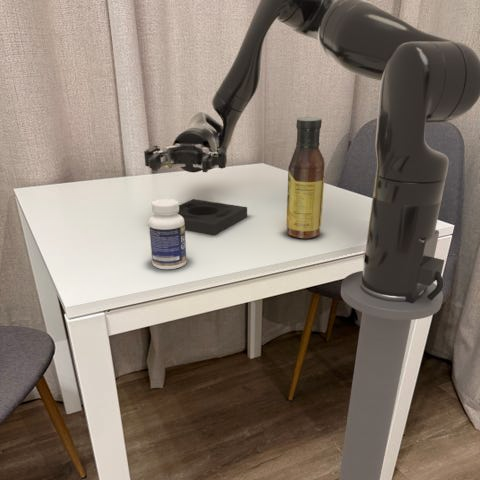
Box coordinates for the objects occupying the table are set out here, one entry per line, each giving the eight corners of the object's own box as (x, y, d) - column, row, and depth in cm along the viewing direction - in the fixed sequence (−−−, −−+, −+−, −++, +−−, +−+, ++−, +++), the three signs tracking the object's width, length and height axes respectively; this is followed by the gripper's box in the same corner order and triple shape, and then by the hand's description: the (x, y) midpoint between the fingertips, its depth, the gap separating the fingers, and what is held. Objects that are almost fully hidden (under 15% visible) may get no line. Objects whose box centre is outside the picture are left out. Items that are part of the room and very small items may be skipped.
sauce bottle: (296, 226, 92) (303, 114, 82) (326, 233, 89) (336, 117, 79) (278, 236, 87) (283, 118, 78) (309, 243, 84) (318, 121, 74)
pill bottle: (189, 268, 74) (186, 205, 69) (154, 272, 73) (149, 208, 68) (183, 255, 79) (179, 196, 74) (150, 259, 77) (144, 198, 73)
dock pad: (247, 216, 98) (247, 207, 97) (214, 235, 88) (214, 224, 87) (193, 208, 103) (193, 198, 102) (156, 224, 93) (155, 214, 92)
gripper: (158, 126, 92) (134, 140, 78) (232, 128, 91) (221, 142, 77) (161, 166, 96) (138, 187, 82) (232, 168, 95) (221, 189, 81)
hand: (178, 165), depth 79 cm, fingers open, 8 cm apart
